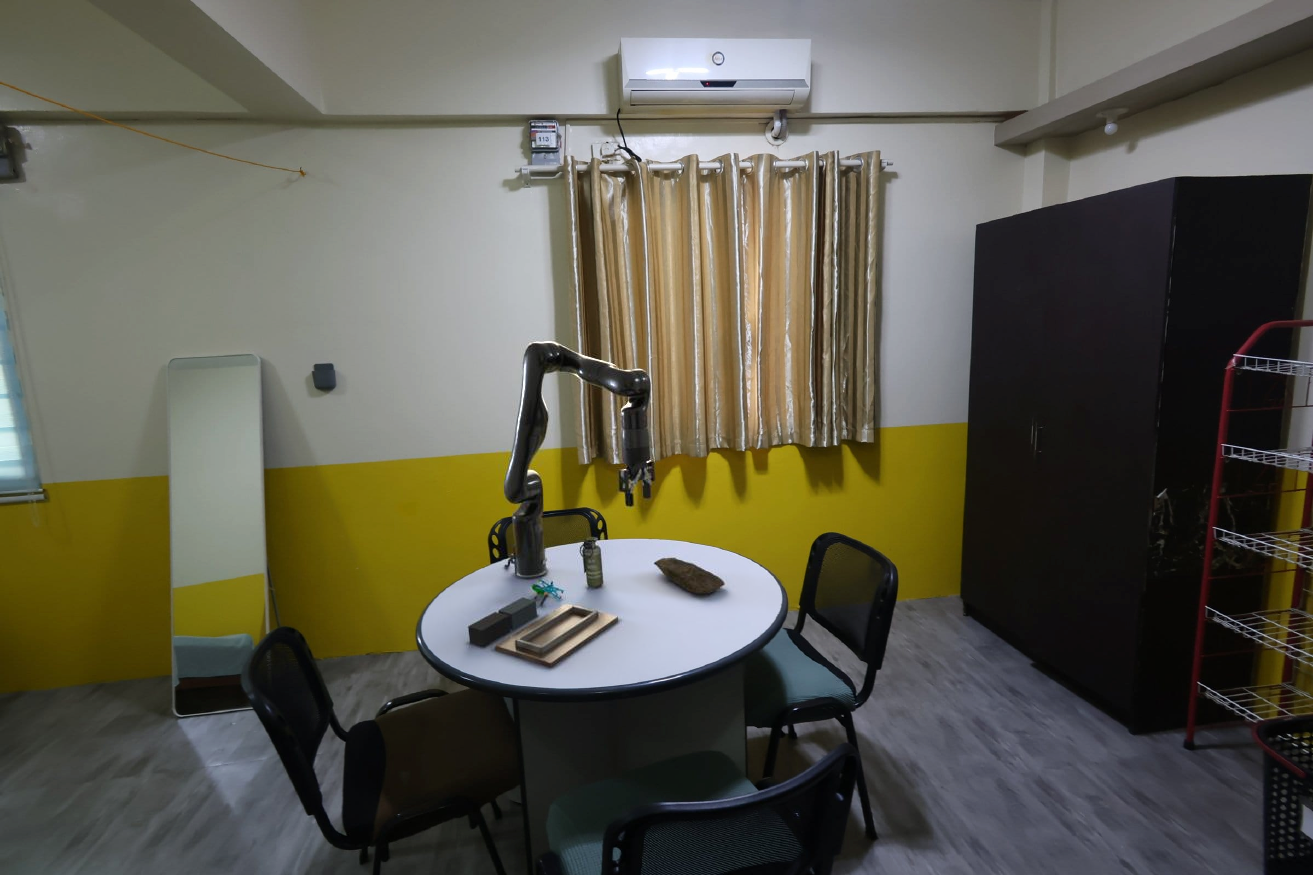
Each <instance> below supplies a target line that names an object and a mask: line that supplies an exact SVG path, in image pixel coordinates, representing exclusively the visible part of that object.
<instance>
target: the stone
mask: <svg viewBox="0 0 1313 875" xmlns="http://www.w3.org/2000/svg"><path fill="white" fill-rule="evenodd" d="M653 565H655V566H656V567H657V568H658V569H659V570H660V571H661V573H662V574H663V575H664V576H665V577H667V578H668V580H670V581H672V582H674V583H675V584H677V585H679V586H680V587H682V589H684V590H686V591H689V592H691V593H692V594H709V593H713V592H715V591H718V590H720V589H721V587H723V586H725V585H726V584H725V582H724V580H722V578H720V577H719V576H717V575H716V574H714V573H712V572H711V571H708V570H706V569H703V568H702V567H700V566H698V565H696V564H695V563H692V562H688V561H684V560H682V559H678V558H676V557H662V558H660V559H657V560H655V561H654V562H653Z"/></svg>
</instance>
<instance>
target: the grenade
mask: <svg viewBox="0 0 1313 875" xmlns="http://www.w3.org/2000/svg"><path fill="white" fill-rule="evenodd" d="M598 540H599V539H598V537H596V536H591V537H590V536H588V537H587V538H584V540H583V543H582V545H581V546H580V547H579V554H580V556H581V557H582V562H583V563H582V564H583V574H585V578H586V584H587V586H588V588H591V589H596V588H601V587H602V586H603V584H604V574H603V572H604V571H603V561H602V550H601V547H600V545H597V544H596V543H597V541H598Z"/></svg>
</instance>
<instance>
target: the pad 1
mask: <svg viewBox="0 0 1313 875" xmlns="http://www.w3.org/2000/svg"><path fill="white" fill-rule="evenodd" d="M467 629H468V630H467V631H468V639H469V640H468V641H469V644H471V645H474V646H477V647H481V648H485V647H487V646H489V645H491V644H492V643H494V642H496V641H498V640H499V639H501V638H502V637H504V636H506V635H508V634H510V633H511V629H510V623H509V616H508V615H504V614H501V613H498V612H497V611H494V612H493V613H490V614H489V615H487V616H485V617H482V618H481V619H479V620H477V621H476V622H475V621H474V622H473V623H472V624H469V625H468V626H467Z"/></svg>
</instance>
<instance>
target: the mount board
mask: <svg viewBox="0 0 1313 875" xmlns="http://www.w3.org/2000/svg"><path fill="white" fill-rule="evenodd" d="M618 621H619V616H617V615H613V614H608V613H606V612H605V613H604V612H600V611H598V610H596V609H590V608H587V607H583V606H578V605H576V604H575V605H574V604H572V605H571V604H568V603H564V604H563V605H561V606H559V607H558V608H556V609H554V610H553V611H550V612H549V613H547V614H545V615H544V616H542V617H540V618H539V619H537V620H535V621H534V622H532V623H530V624H529V625H527V626H525V627H524V628H522V629H521V630H519V631H517V632H515V633H513V634H512V635H510V636H509V637H507V638H505V639H503V640H502V641H500V642H499V643H496V644H495V645H494V650H495V651H497V652H500V653H503V654H507V655H510V656H512V657H515V658H519V659H522V660H525V661H528V662H531V663H535V664H538V665H540V666H544V667H547V668H550V669H552V668H553V667H555V666H556V665H558V664H559V663H560V662H562V661H563V660H564V659H566V658H568V657H569V656H570V655H572V654H573V653H574V652H576V651H578V650H579V649H580V648H582V647H583V646H584V645H586V644H587V643H589V642H590V641H591V640H593V639H595V638H596V637H597V636H599V635H600V634H602V633H603V632H605V631H606V630H607V629H609V628H610V627H611V626H613V625H615V624H616V623H617V622H618Z"/></svg>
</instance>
